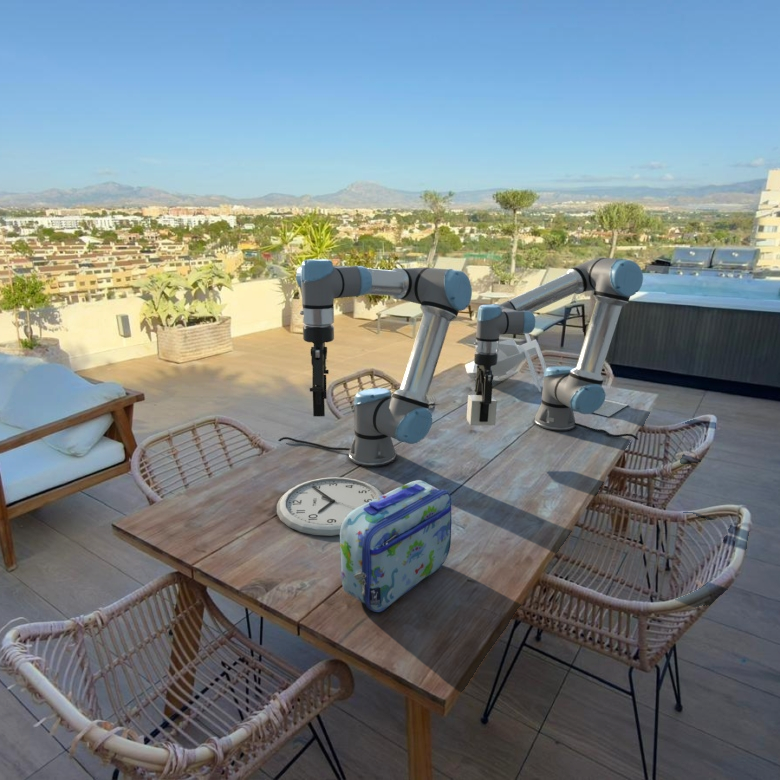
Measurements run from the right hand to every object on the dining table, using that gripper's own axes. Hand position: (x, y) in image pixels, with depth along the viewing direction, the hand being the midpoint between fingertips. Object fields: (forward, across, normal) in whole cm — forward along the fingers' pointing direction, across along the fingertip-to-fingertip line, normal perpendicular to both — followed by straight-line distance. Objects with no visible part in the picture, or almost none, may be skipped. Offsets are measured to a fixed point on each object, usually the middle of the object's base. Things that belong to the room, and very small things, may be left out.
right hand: (481, 417), depth 180 cm
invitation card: (+10, -41, +63) cm, 76 cm away
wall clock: (+11, +39, -49) cm, 64 cm away
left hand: (-17, +40, -52) cm, 68 cm away
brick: (+2, 0, 0) cm, 2 cm away
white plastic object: (+11, -73, +29) cm, 79 cm away
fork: (+11, -43, -12) cm, 46 cm away
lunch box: (+11, +72, -34) cm, 81 cm away
